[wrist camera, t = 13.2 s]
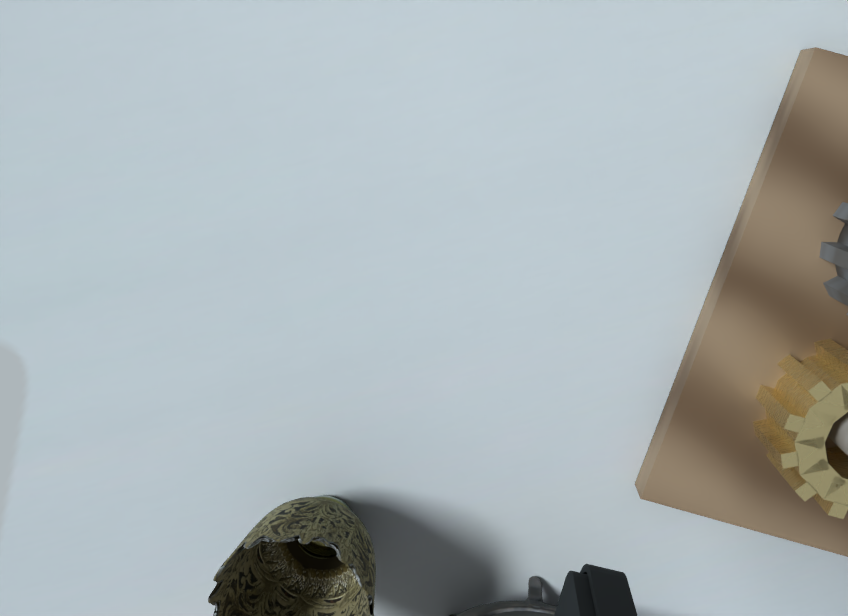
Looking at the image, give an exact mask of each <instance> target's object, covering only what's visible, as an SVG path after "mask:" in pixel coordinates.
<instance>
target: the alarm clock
mask: <svg viewBox="0 0 848 616" xmlns="http://www.w3.org/2000/svg"><path fill="white" fill-rule="evenodd" d="M556 608H557V606H553V605H549V604H545V603H544V602H543V601H542V584H541V581H540V579H539V578H538V577H534V576H533V577H531V578H530V579H529V590H528V598H527V600H525V601H505V602H495V603H489V604H484V605H480V606H477V607H474V608H471V609H468V610H466V611H464V612H462V613H460V614H458V615H456V616H554V614H555V611H556ZM450 616H454V615H450Z"/></svg>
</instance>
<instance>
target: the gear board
mask: <svg viewBox="0 0 848 616" xmlns="http://www.w3.org/2000/svg"><path fill="white" fill-rule="evenodd" d="M827 339H832V340H833V341H834V342H836V343H837V344H839V345H840V346H842V347H843V348H845V349H846V350H848V56H845V55H842V54H838V53H834V52H831V51H827V50H823V49H820V48H816V47H815V48H810V49H805V50H801V51H800V54H799V57H798V59H797V62H796V64H795V67H794V70H793V72H792V75H791V78H790V80H789V83H788V85H787V88H786V91H785V93H784V96H783V98H782V101H781V104H780V106H779V109H778V111H777V114H776V117H775V119H774V122H773V125H772V127H771V130H770V132H769V135H768V138H767V140H766V143H765V145H764V148H763V151H762V153H761V156H760V158H759V161H758V164H757V166H756V169H755V172H754V174H753V177H752V179H751V182H750V185H749V187H748V190H747V192H746V195H745V198H744V200H743V203H742V205H741V208H740V211H739V213H738V216H737V219H736V221H735V224H734V226H733V229H732V232H731V234H730V237H729V239H728V242H727V245H726V247H725V250H724V252H723V255H722V258H721V260H720V263H719V266H718V268H717V271H716V273H715V276H714V279H713V281H712V284H711V286H710V289H709V292H708V294H707V297H706V299H705V302H704V305H703V307H702V310H701V313H700V315H699V318H698V320H697V323H696V326H695V328H694V331H693V333H692V336H691V339H690V341H689V344H688V346H687V349H686V352H685V354H684V357H683V360H682V362H681V365H680V367H679V370H678V373H677V375H676V378H675V380H674V383H673V386H672V388H671V391H670V393H669V396H668V399H667V401H666V404H665V407H664V409H663V412H662V414H661V417H660V420H659V422H658V425H657V427H656V430H655V433H654V435H653V438H652V440H651V443H650V446H649V448H648V451H647V454H646V456H645V459H644V461H643V464H642V467H641V469H640V472H639V474H638V477H637V480H636V482H635V486H636V488H637V491H638V493H639V496H640V498H641V499H644V500H647V501H651V502H655V503H658V504H662V505H665V506H669V507H672V508H676V509H680V510H683V511H687V512H690V513H694V514H697V515H701V516H705V517H708V518H712V519H715V520H719V521H722V522H726V523H730V524H733V525H737V526H740V527H744V528H747V529H751V530H754V531H758V532H762V533H765V534H769V535H772V536H776V537H779V538H783V539H787V540H790V541H794V542H797V543H801V544H804V545H808V546H812V547H815V548H819V549H822V550H826V551H829V552H833V553H836V554H840V555H844V556H847V557H848V511H847V513H846V515H845V517H844V519H841V518H837V517H833V516H830V515H828V514H827V513H826V512H825V511H824V510H823V509H822V507H821V506H820V505H819V504H818V503H817V501H816V500H815V499H814V498H813V497H811V498H809V499H808V500H807V501H804V500H803V499H802V498H801V497H800V496H799V495H798V494H797V493H796V492H795V491H794V490H793V489H792V487H791V486H790V485H789V484H788V482H787V481H786V480H785V479H784V477H783V476H782V475H781V474H780V472H779V471H778V470H777V469H776V467H775V466H774V465H773V464H772V462H771V461H770V460H769V459H768V457H767V456H766V455H767V454H768V453H770V452H769V451H768V450H767V449H766V447H765V446H764V445H763V444H762V443H761V441H760V440H759V439H758V438H757V436H756V435H755V431H754V425H753V422H754V421H759V420H764V419H767V417H766V411H765V410H766V409H765V408H764V407H763V406H762V404H761V403H760V402H759V401H758V400H757V399H756V396H757V394H758V391H759V389H760V386H761V385H764V386H767V387H771V388H775V386H776V384H777V381H778V380H779V379H780V378H781V377H782V376H784V375H785V374H786V373H785V372H784V371H783V370H782V369H781V368H780V367H779V366H778V363H779V362H780V361H781V360H783V359H784V358H785V357H786V356H788V355H789V354H790V355H791V356H792V357H793V358H795V359H796V360H797V361H798V362H801V361H802V360H804V359H805V358H806V357H810V356H815V355H816V349H815V342H817V341H822V340H827ZM837 446H838V447H839V448H840V449H841V450H842V451H843V452H845V453H846V454H847V455H848V412H847V413H846V414H845V415H843V416H842V417H841V418H839V419H838V420H837V421H835V422H834V423H833V425H832V428H831V430H830V432H829V434H828V436H827V439H826V441H825V448H832V447H837Z"/></svg>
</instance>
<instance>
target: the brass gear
mask: <svg viewBox="0 0 848 616" xmlns="http://www.w3.org/2000/svg"><path fill="white" fill-rule="evenodd" d="M815 349H816V355H815V356H810V357H806V358H805V359H804V360H802V361H801V362H798V361H797V360H796V359H795V358H793V357H792V356H791V355H790V354H789V355H788V356H786V357H785V358H784V359H783V360H781V361H780V362H779V363H778V366H779V367H780V368H781V369H782V370H783V371H784V372H785V373H786V374H785V375H784V376H782V377H781V378H780V379H779V380H778V381H777V384H776V386H775V388H771V387H767V386H764V385H761V386H760V389H759V391H758V394H757V396H756V399H757V400H758V401H759V402H760V403H761V404H762V406H763V407H764V408H765V409H766V410H765V411H766V417H767V419H764V420H759V421H754V422H753V425H754V431H755V435H756V436H757V438H758V439H759V440H760V441H761V443H762V444H763V445H764V446H765V447H766V449H767V450H768V451H769V452H770V453H768V454H767V455H766V456H767V457H768V459H769V460H770V461H771V462H772V464H773V465H774V466H775V467H776V469H777V470H778V471H779V472H780V474H781V475H782V476H783V477H784V479H785V480H786V481H787V482H788V484H789V485H790V486H791V487H792V489H793V490H794V491H795V492H796V493H797V494H798V495H799V496H800V497H801V498H802V499H803V500H804V501H807V500H808V499H809V498H811V497H813V498H814V499H815V500H816V501H817V503H818V504H819V505H820V506H821V507H822V509H823V510H824V511H825V512H826V513H827V514H828V515H830V516H833V517H837V518H841V519H844V517H845V515H846V513H847V511H848V455H847V454H846V453H845V452H843V451H842V450H841V449H840V448H839V447H838V446H837V447H832V448H825V441H826V439H827V436H828V434H829V432H830V430H831V428H832V425H833V423H834V422H835V421H837V420H838V419H839V418H841V417H842V416H843V415H845V414H846V413H847V412H848V350H846V349H845V348H843V347H842V346H840V345H839V344H837V343H836V342H834V341H833V340H832V339H827V340H822V341H817V342H815Z"/></svg>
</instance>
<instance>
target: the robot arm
mask: <svg viewBox="0 0 848 616" xmlns="http://www.w3.org/2000/svg"><path fill="white" fill-rule="evenodd" d="M554 616H637V613H636V609H635V606H634V602H633V599H632V595H631V592H630V588H629V584H628V581H627V578H626V575H625V574H624V573H623V572H619V571H615V570H611V569H606V568H602V567H598V566H594V565H589V564H585V565H584V566H583V568H582V569H581V572H580V573H579V572H574V571H569V573H568V574H567V576H566V579H565V582H564V585H563V589H562V592H561V595H560V598H559V601H558V605H557V608H556V611H555V614H554Z"/></svg>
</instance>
